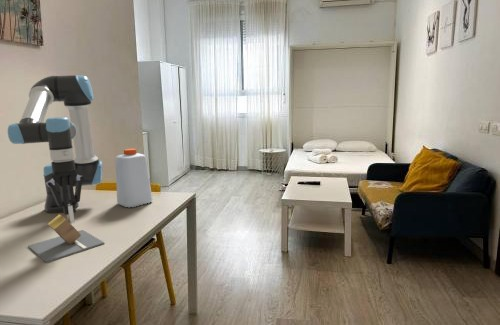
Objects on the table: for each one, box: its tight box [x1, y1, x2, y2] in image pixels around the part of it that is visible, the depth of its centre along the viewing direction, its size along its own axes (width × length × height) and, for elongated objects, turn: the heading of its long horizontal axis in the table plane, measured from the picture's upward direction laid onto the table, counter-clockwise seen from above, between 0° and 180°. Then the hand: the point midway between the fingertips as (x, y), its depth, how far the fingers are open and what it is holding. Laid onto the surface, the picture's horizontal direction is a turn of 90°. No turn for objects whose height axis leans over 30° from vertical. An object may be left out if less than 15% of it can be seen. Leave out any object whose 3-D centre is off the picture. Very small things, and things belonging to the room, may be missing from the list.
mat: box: [27, 229, 105, 263], centre depth 135 cm, size 20×20×1 cm
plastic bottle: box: [115, 148, 153, 209], centre depth 183 cm, size 15×15×28 cm
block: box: [47, 213, 81, 245], centre depth 134 cm, size 5×5×10 cm
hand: (71, 221), depth 135 cm, fingers closed
